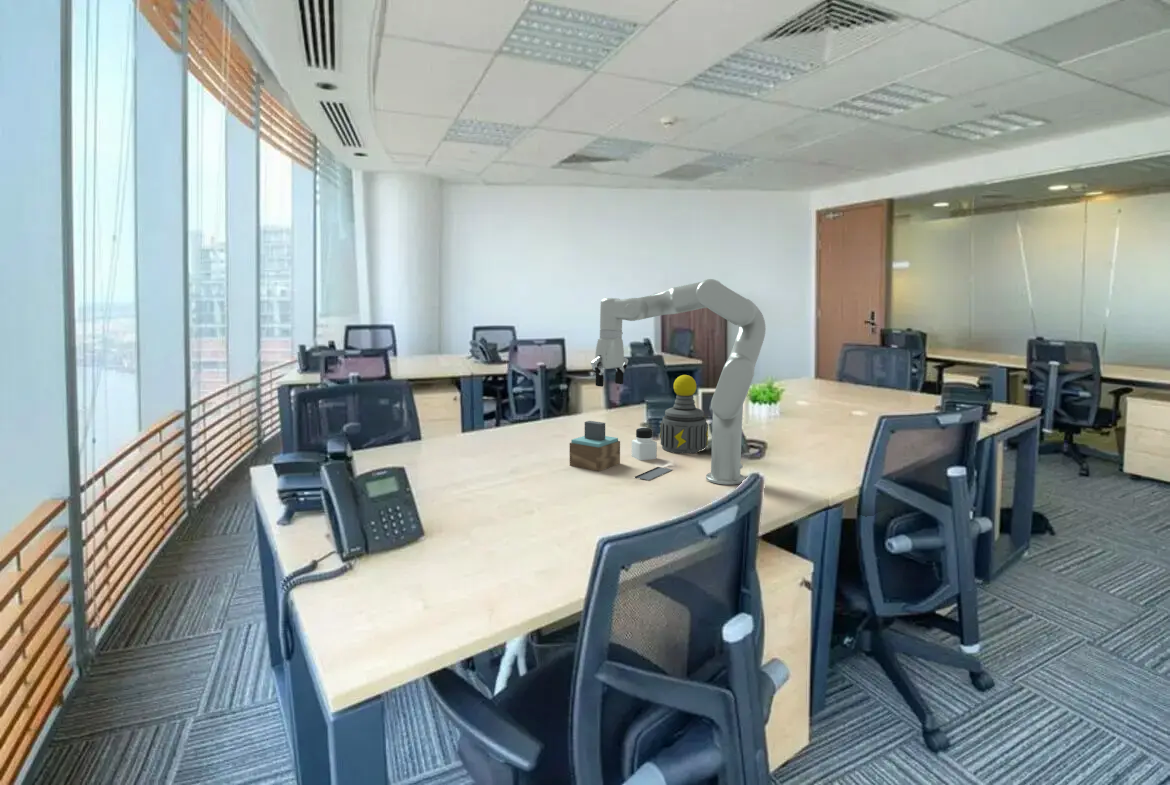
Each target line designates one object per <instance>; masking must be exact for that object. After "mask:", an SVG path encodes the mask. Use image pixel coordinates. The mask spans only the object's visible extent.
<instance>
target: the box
mask: <svg viewBox="0 0 1170 785" xmlns="http://www.w3.org/2000/svg"><path fill="white" fill-rule="evenodd" d="M619 464H621V440H618V441H617V442H614V443H611V444H608V445H605V446H602V447H599V448H598V447H592V446H586V445H581V444H575V443H571V442H569V466H571V467H576V468H581V469H586V470H591V471H596V472H601V471H603V470H606V469H609V468H612V467H614V466H616V465H619Z"/></svg>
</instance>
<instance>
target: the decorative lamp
mask: <svg viewBox="0 0 1170 785" xmlns="http://www.w3.org/2000/svg"><path fill="white" fill-rule="evenodd" d="M696 390H697V383H696V380H695V379H694V378H693V376H690V375H687V374H682V375H679V376H677V378H675V379H674V382H673V391H674V393H675V394H676V396H675V397H676V398H675V399H674V404H673V406H672V407H669V408H666V409H665V411H664V416H662V420H661V421H660V434H659V438H660V445H661V448H662V450H664V451H665V450H666V452H668V451H669V453H673V452H674V454H680V453H692V454H697V453H696V452H698V451H699V450H702V449H704V448H705V447H706V448H707V446H708V439H709V424H708V422H707V418H706V417H705V411H704V410H702V409H701V408H699V407H698V408H697V407H696V404H695V400H694V396H693V395H694V394H695V393H696Z"/></svg>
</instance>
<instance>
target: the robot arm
mask: <svg viewBox="0 0 1170 785" xmlns="http://www.w3.org/2000/svg"><path fill="white" fill-rule="evenodd" d="M599 308H600V314H599V315H600V316H599V317H600V318H599V338H598V339H597V342H596V347H595V353H594V354H595V356H594V359H593V360H592V361H591V362H590V365H591V369H592V371H593V372H594V374H595V386H596V387H600V388H601V387H603V388H604V382H605V376H604V372H605V370H610V369H615V370H616V371H615V378H614V380H615V381H614V382H615V384H617V385H623V384H624V373H625V371H626V369H627V367H628V363H629V359H628V358H627V357H625V355H624V354H625V352H624V351H625V350H624V340H623V321H629V322H635V321H640V320H641V321H642V320H645V319H646V320H647V319H650V318H654V317H655V318H656V317H660V316H664V315H677V314H682V313H686V312H691V311H692V312H693V311H695V310H701V309H706V308H707V309H709V310H710V311H711V312H713V313H714V314H717V315H718V316H719V317H721V318H723V319H725V320H726V321H728V322H729V323H731V324H734V325H735V326H737V334H736V337H735V340H734V344H733V347H732V349H731V351H730V354H729V356H728V358H727V360H726V362H725V363H724V365H723V368H722V371H721V373H720V376H719V379H718V381H717V385H716V387H715V390H714V392H713V395H712V398H711V401H710V405H711V406H710V407H711V411H712V420H711V421H712V423H711V424H712V426H711V452H710V453H711V454H710V455H711V456H710V457H711V460H710V461H711V463H710V472H709V473H707V474H706V476H705V478H706V481H708V482H710V483H713V484H719V485H727V486H730V485H732V486H735V485H741V484H742V483H741V482H742V481H743V480H744V479H746V477H745V476H744V475H743V474H741V469H743V464H742V463H741V462H742V461H741V460H742V459H741V458H742V435H743V434H742V433H743V412H744V411H743V409H744V403H745V400H746V398H747V395H748V392H749V389H750V388H751V386H752V382H753V379H754V376H755V368H756V365H757V361H758V359H759V356H760V353H761V350H762V346H763V343H764V341H765V336H766V321H765V320H766V319H765V318H764V315H763V313H762V311H761V309H759V307H758V306H757V305H756V304H755V303H754V302H753V300H751V299H750V298H746V297H744V296H742V294H741V295H740V294H739V293H737V292H735V291H733V290H732V289H730V288H729V287H727V286H726V285H724V284H722V283H721V282H720V281H719V280H716V279H714V278H708V279H705V280H703V281H697V282H694V283H689V284H684V285H681V286H679V285H678V286H674V287H671V288H668V289H667V290H664V291H663V292H659V293H656V294H651V295H650V294H649V295H644V296H641V297H630V298H616V297H615V298H613V297H608V298H606V297H605V298H603V299H601V301H600V307H599Z"/></svg>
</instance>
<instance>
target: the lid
mask: <svg viewBox="0 0 1170 785" xmlns="http://www.w3.org/2000/svg"><path fill="white" fill-rule="evenodd" d="M617 441H619V437H614V436H607V435H606V422H601V421H594V420H587V421H584V435H582V436H580V437H576V438H573V439H571V442H570V443H575V444H581V445H586V446H592V447H598V448H599V447H602V446H605V445H608V444H611V443H614V442H617Z"/></svg>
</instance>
